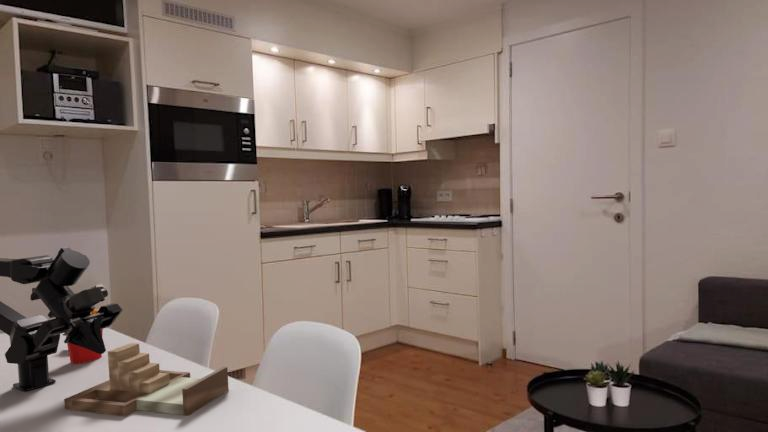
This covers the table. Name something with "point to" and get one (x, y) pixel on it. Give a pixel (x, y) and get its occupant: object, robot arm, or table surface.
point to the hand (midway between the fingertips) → (103, 352)
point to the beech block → (134, 370)
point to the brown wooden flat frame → (153, 395)
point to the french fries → (82, 351)
